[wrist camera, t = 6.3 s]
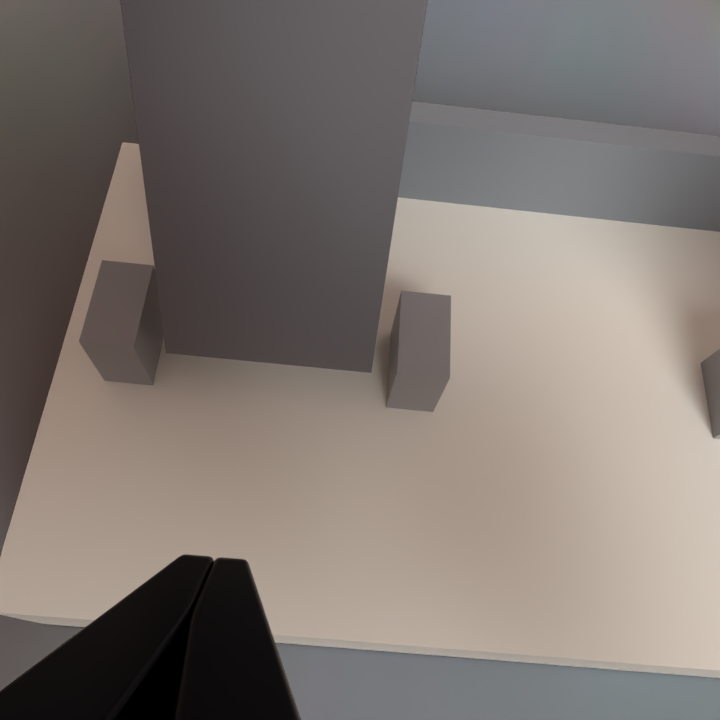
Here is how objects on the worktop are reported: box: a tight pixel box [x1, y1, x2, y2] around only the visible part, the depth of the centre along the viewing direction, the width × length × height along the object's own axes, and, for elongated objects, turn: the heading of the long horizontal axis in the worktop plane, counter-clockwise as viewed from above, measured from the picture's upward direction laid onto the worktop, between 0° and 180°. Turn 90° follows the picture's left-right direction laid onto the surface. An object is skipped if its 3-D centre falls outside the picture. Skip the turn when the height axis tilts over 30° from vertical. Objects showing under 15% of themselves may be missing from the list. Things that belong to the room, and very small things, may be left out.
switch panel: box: [0, 101, 720, 678], centre depth 15 cm, size 11×22×6 cm, turn 86°
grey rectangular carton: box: [120, 0, 428, 373], centre depth 11 cm, size 2×4×8 cm, turn 86°
